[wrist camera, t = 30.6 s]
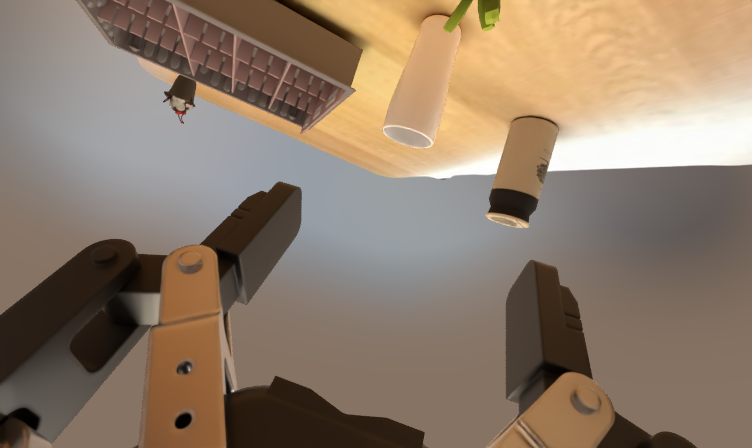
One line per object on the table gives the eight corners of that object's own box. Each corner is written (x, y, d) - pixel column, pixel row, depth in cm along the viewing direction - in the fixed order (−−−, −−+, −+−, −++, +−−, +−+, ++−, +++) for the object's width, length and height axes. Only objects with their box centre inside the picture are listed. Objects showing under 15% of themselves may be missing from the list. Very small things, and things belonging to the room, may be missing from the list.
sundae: (213, 72, 86) (193, 128, 86) (188, 64, 86) (168, 120, 86) (201, 58, 80) (179, 119, 79) (173, 49, 80) (151, 110, 79)
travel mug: (514, 133, 68) (488, 221, 67) (509, 114, 61) (479, 211, 60) (559, 137, 64) (532, 231, 63) (558, 117, 57) (528, 222, 56)
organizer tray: (38, -152, 36) (4, -66, 36) (372, 42, 52) (351, 103, 51) (123, 5, 66) (104, 53, 65) (319, 98, 81) (306, 138, 81)
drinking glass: (444, -1, 39) (405, 122, 38) (479, 35, 43) (444, 147, 42) (406, 19, 45) (370, 128, 44) (439, 49, 49) (408, 149, 48)
